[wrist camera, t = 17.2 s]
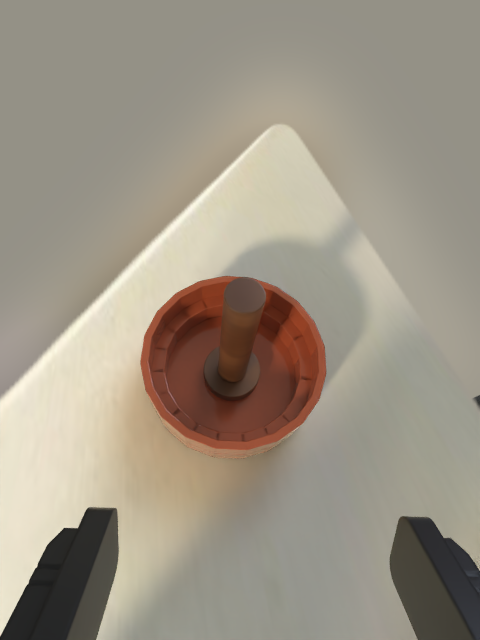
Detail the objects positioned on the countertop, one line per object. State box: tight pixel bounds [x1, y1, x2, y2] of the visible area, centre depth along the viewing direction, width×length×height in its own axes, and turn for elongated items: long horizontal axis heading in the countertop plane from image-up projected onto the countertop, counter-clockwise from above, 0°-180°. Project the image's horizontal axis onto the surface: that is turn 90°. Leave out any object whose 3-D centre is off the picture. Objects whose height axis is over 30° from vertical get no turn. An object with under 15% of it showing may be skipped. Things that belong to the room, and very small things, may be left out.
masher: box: [204, 277, 266, 401], centre depth 28 cm, size 5×5×14 cm
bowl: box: [141, 276, 326, 459], centre depth 33 cm, size 14×14×5 cm
